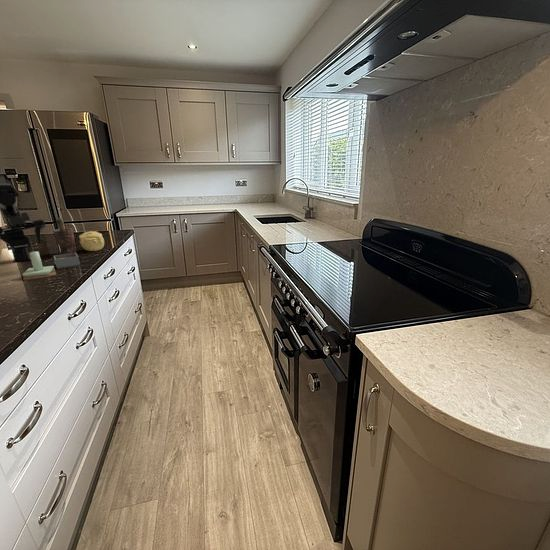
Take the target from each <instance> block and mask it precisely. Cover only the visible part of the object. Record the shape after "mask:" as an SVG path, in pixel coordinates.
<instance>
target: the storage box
mask: <svg viewBox="0 0 550 550" xmlns="http://www.w3.org/2000/svg"><path fill="white" fill-rule="evenodd" d="M53 259H54V264H55V267H56V269H57V270H60V269H61V270H62V269H67V268H74V267H80V266H81V262H80V258H79V255H78V254H77V252H76V253H69V254H56V255H53Z"/></svg>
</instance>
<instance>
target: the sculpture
mask: <svg viewBox="0 0 550 550" xmlns="http://www.w3.org/2000/svg"><path fill="white" fill-rule="evenodd" d="M78 238H79V243H80V246H81V247H82V248H83V249H84V250H85V251H87V252H97V251H101V250H102V249H103V248H104V246H105V239H104V237H103V234H102V233H100V232H98V231H92V230H90V231H85V232H83V233H82V234H80V235H79V236H78Z"/></svg>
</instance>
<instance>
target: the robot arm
mask: <svg viewBox="0 0 550 550" xmlns="http://www.w3.org/2000/svg"><path fill="white" fill-rule="evenodd" d="M18 197H19V193H18V190H17V189H16V188H15V187H14V186H12V182H11V180H9V179H7V178H6V175H3V174H1V175H0V211H1V214H2V216H3V218H4V221H5V223H6V228H2V227H1V226H0V240H1V241H3V242H4V243H5V244H6V248H7V250H8V251H10V250H11V253H12V256H13V263H17V262H26V261H31V258H30V255H29V251H28V249H27V248H31V247H32V244H31V240H30V238H29V237H28V236H27V235H26V234H25V232H24V230H28V229H29V230H30V229H34V230H33V231H34V234H35V237H36V240H37V243H38V244H39V245H41V231H43V229H45V228H46V222H45V221H44V220H43V219H35V220H32V221H31V223H28V224H27V222H26V221H30V220H31V219H30V217H29V214H28V212H20V210H19V208H18V206H17V205H18V204H17V198H18Z"/></svg>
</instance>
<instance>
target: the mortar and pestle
mask: <svg viewBox="0 0 550 550" xmlns="http://www.w3.org/2000/svg"><path fill="white" fill-rule="evenodd" d="M64 224H65V223H64V220H63V219H62V218H61V217H58V218H56V225H57V226H58V228H57V229H54V230H53V231H52V232H53V235H54V239H55V241H56V243H57V245H58V246H60V247H61V248H62V249H61V250H60V254H59V255H62V254H69V253H76V254H77V252H78V251H77V250H76V248H73V245H74V244H75V235H74V229H73V228H71V227H66V228H65V225H64Z"/></svg>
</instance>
